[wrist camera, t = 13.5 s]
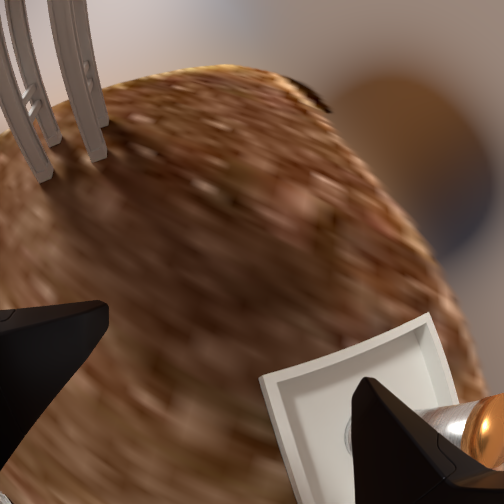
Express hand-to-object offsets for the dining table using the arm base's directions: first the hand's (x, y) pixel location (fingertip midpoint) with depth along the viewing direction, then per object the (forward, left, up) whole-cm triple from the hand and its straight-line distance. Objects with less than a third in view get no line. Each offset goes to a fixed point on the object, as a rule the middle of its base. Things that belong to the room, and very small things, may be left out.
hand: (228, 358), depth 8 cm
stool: (-17, +35, -14) cm, 41 cm away
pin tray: (+10, -8, -14) cm, 19 cm away
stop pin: (+10, -8, -13) cm, 18 cm away
